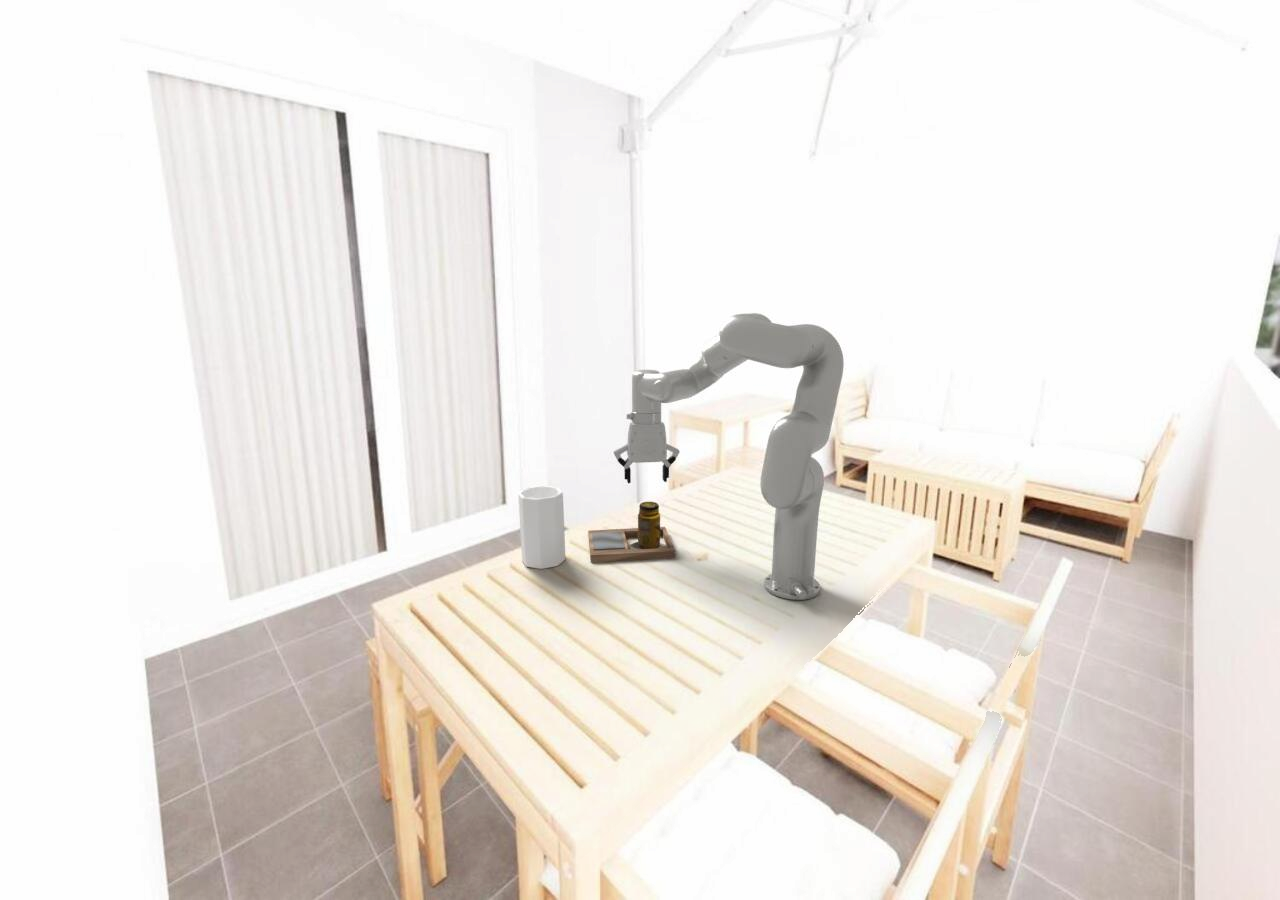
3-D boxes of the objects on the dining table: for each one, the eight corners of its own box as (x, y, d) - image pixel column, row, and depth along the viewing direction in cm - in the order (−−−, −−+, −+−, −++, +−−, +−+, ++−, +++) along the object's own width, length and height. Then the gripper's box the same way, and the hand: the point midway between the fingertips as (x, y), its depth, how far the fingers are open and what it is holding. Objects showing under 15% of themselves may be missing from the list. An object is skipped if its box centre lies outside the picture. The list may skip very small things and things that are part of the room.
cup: (513, 560, 155) (509, 492, 150) (547, 547, 163) (544, 482, 158) (540, 573, 147) (536, 502, 143) (574, 559, 155) (572, 491, 151)
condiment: (666, 545, 164) (667, 504, 161) (644, 554, 158) (644, 512, 155) (648, 538, 169) (648, 498, 166) (625, 547, 163) (625, 505, 160)
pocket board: (675, 557, 156) (675, 549, 155) (590, 562, 153) (590, 554, 153) (665, 533, 172) (665, 525, 172) (588, 537, 170) (588, 529, 169)
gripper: (614, 421, 150) (615, 486, 155) (682, 420, 152) (681, 484, 156) (612, 416, 158) (613, 478, 162) (677, 414, 159) (676, 476, 164)
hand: (646, 481), depth 159 cm, fingers open, 9 cm apart
